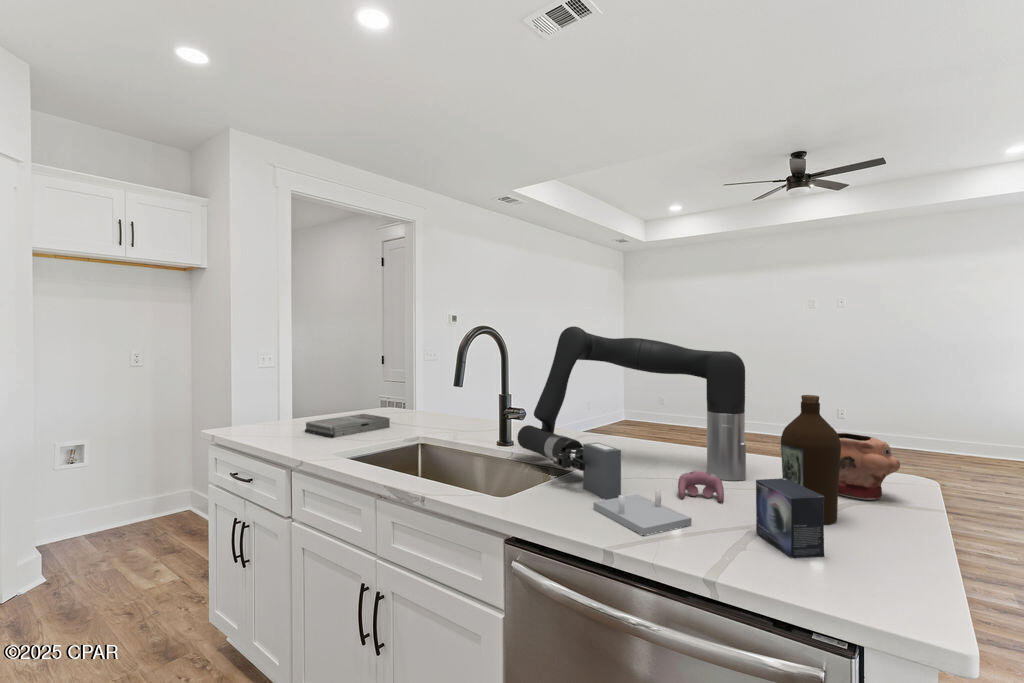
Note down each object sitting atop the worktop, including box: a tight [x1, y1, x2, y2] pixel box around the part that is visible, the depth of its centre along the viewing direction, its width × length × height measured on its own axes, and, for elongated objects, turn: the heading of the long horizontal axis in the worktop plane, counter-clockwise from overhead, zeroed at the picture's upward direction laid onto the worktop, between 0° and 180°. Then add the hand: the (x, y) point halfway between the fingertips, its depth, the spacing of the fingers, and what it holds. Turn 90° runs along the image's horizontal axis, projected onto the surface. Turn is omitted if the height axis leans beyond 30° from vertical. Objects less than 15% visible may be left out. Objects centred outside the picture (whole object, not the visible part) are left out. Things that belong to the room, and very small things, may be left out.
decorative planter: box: [837, 432, 901, 501], centre depth 116 cm, size 20×12×14 cm, turn 48°
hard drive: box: [304, 413, 391, 439], centre depth 195 cm, size 18×27×4 cm
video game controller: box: [677, 470, 725, 504], centre depth 113 cm, size 10×5×7 cm, turn 72°
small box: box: [755, 477, 825, 559], centre depth 87 cm, size 11×6×10 cm, turn 5°
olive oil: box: [780, 394, 841, 525], centre depth 101 cm, size 11×11×25 cm
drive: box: [582, 442, 622, 500], centre depth 116 cm, size 9×4×11 cm, turn 26°
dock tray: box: [593, 488, 692, 536], centre depth 100 cm, size 16×12×5 cm
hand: (598, 464), depth 117 cm, fingers open, 8 cm apart
